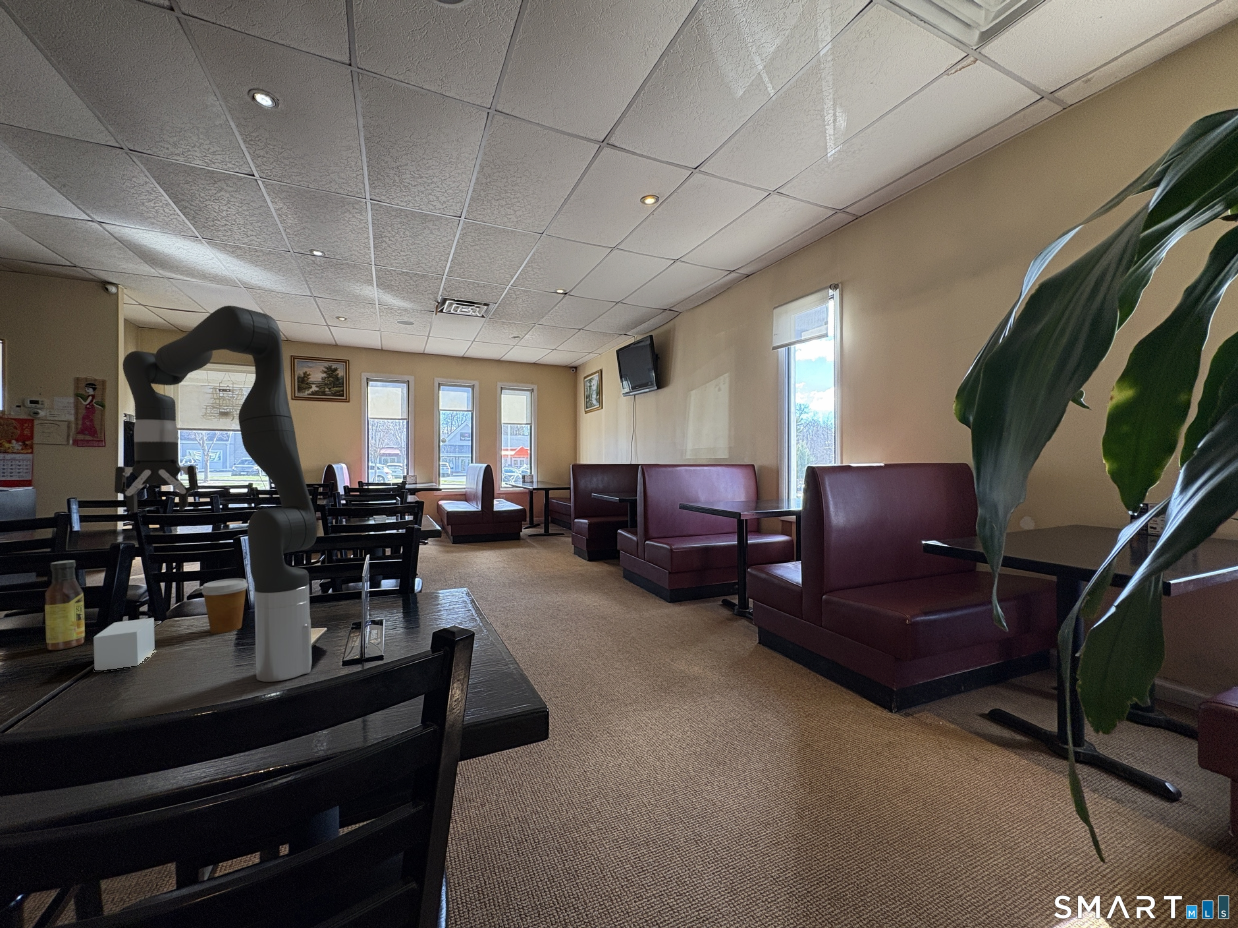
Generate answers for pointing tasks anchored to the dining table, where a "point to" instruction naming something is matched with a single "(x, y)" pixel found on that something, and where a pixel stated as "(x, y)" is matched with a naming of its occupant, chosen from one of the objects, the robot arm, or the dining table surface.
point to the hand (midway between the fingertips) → (158, 511)
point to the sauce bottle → (64, 608)
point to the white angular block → (124, 644)
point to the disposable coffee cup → (225, 604)
